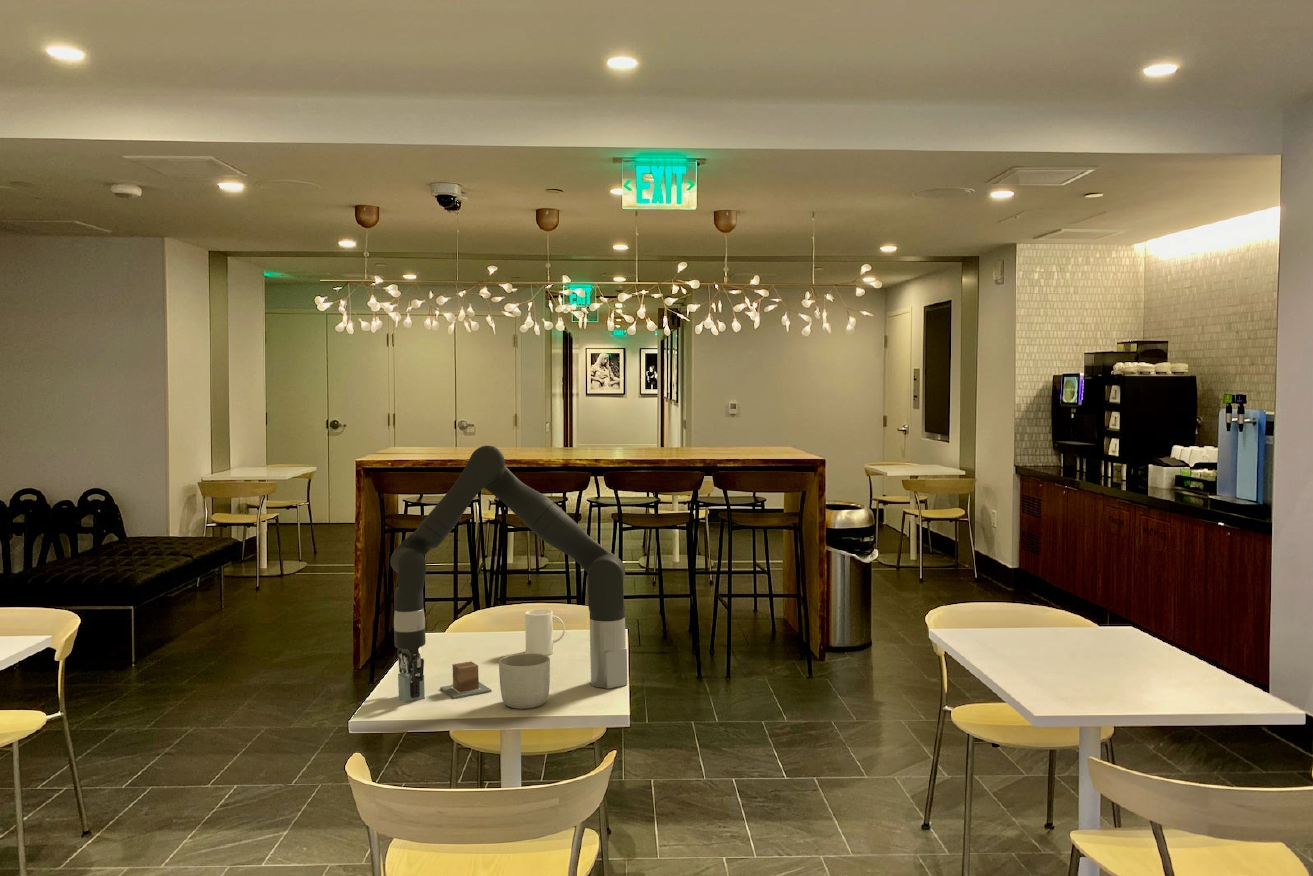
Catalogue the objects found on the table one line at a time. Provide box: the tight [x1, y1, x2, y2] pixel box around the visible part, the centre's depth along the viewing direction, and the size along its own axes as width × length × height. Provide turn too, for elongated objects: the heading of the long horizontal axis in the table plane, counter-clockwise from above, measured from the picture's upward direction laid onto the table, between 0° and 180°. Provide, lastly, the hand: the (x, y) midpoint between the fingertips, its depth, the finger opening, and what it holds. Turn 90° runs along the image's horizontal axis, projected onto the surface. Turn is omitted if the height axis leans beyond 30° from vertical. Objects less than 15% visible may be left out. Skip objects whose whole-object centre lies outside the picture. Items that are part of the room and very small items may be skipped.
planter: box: [498, 652, 551, 710], centre depth 231 cm, size 12×12×11 cm
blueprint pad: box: [439, 681, 493, 699], centre depth 243 cm, size 10×10×1 cm
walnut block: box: [452, 661, 480, 692], centre depth 243 cm, size 5×5×6 cm
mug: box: [524, 608, 566, 656], centre depth 279 cm, size 12×8×12 cm
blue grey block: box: [397, 672, 426, 703], centre depth 238 cm, size 5×5×6 cm
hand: (411, 694), depth 238 cm, fingers closed on blue grey block, 5 cm apart
